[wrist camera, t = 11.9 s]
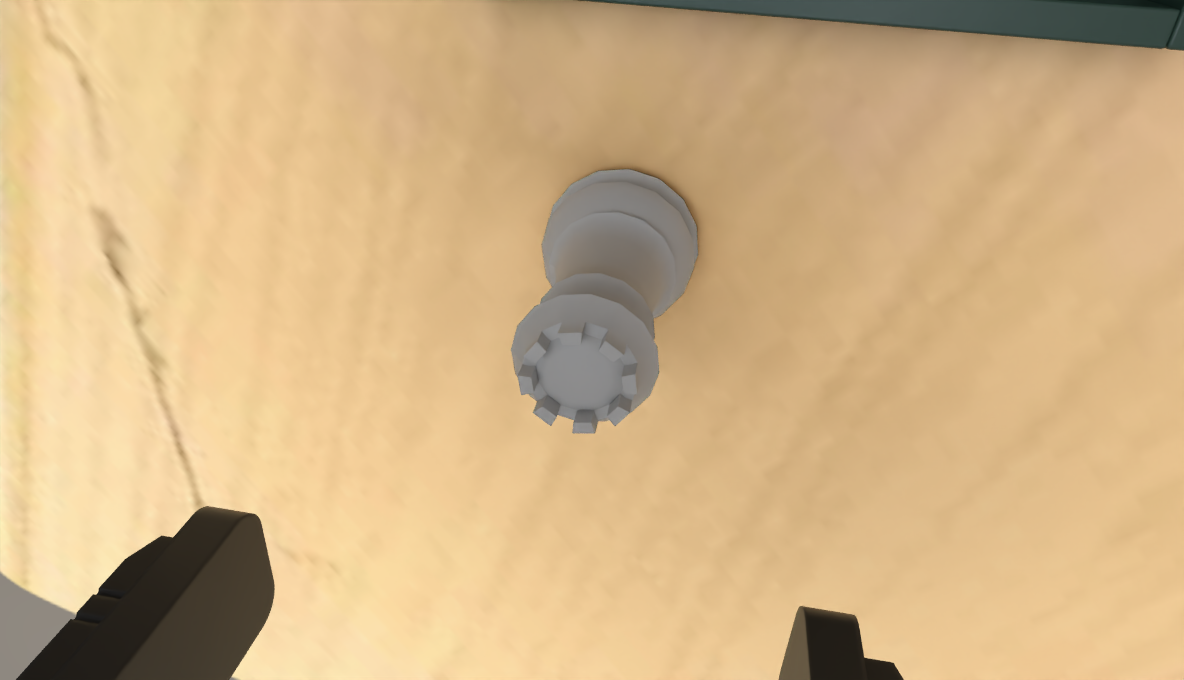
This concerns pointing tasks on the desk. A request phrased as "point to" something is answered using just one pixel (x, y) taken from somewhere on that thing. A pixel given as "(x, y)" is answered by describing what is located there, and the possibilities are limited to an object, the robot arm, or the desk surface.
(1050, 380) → the desk surface
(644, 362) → the rook chess piece
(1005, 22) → the tray
